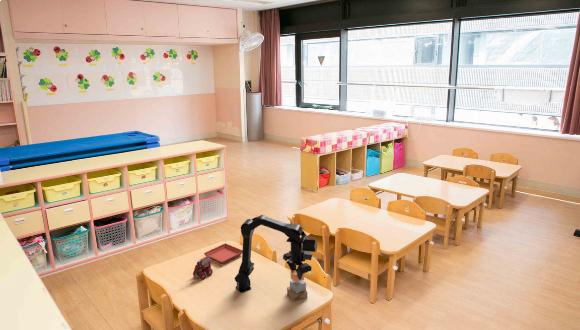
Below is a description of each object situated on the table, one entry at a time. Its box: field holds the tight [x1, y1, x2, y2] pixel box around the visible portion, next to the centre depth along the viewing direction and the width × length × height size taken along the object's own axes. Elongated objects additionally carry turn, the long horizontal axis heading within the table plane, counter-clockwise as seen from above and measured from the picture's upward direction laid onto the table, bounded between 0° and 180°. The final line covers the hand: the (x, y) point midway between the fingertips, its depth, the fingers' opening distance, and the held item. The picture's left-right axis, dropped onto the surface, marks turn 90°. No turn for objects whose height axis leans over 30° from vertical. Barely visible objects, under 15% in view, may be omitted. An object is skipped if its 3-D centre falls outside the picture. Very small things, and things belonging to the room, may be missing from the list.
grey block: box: [289, 279, 307, 293], centre depth 212 cm, size 6×6×4 cm
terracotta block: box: [290, 270, 305, 282], centre depth 210 cm, size 5×5×4 cm
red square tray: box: [203, 243, 243, 265], centre depth 256 cm, size 18×18×3 cm
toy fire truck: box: [192, 256, 214, 281], centre depth 234 cm, size 7×12×10 cm, turn 143°
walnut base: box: [286, 286, 308, 302], centre depth 212 cm, size 8×8×4 cm
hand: (297, 277), depth 210 cm, fingers closed on terracotta block, 5 cm apart
